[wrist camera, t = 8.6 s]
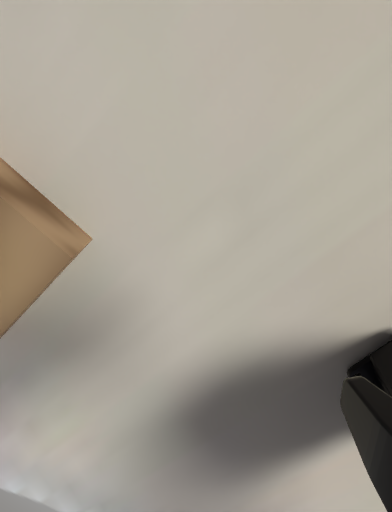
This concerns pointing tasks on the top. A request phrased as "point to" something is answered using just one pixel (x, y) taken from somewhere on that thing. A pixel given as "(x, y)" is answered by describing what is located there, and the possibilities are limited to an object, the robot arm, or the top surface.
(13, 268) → the walnut block
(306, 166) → the top surface
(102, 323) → the top surface
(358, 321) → the top surface
